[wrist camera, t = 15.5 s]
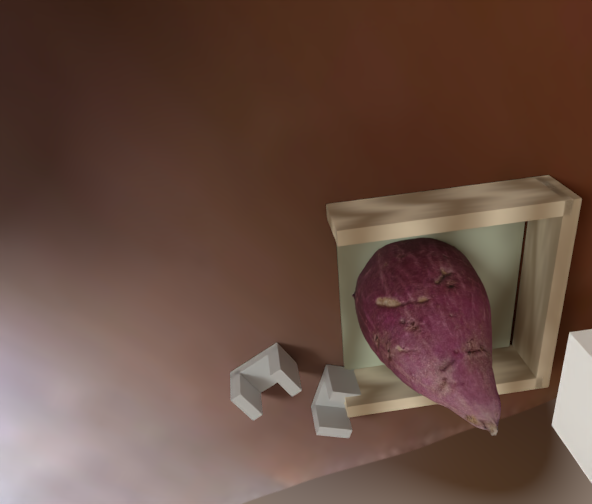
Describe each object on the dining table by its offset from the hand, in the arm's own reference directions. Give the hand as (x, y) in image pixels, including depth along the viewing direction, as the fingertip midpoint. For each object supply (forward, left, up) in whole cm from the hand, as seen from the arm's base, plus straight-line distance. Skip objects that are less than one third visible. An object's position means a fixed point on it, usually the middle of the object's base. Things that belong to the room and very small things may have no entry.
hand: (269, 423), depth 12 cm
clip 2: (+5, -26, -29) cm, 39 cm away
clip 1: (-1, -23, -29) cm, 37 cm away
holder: (+14, -17, -29) cm, 36 cm away
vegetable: (+12, -17, -29) cm, 35 cm away
